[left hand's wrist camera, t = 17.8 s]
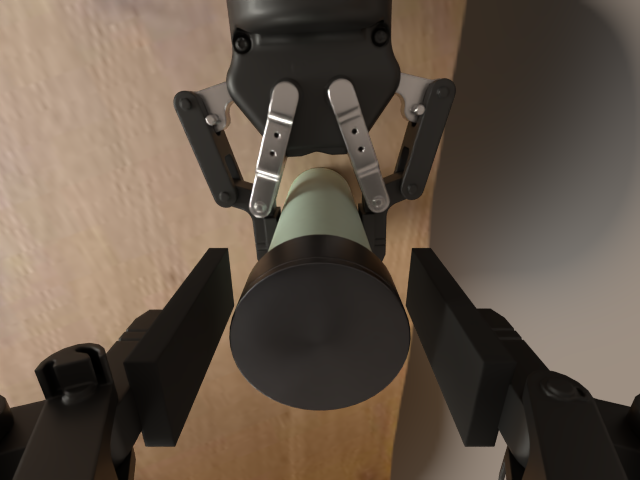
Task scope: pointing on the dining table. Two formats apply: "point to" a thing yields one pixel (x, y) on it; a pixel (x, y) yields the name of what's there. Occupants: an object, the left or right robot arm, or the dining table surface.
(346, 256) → the lid
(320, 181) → the jar
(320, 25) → the right robot arm
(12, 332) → the dining table surface
